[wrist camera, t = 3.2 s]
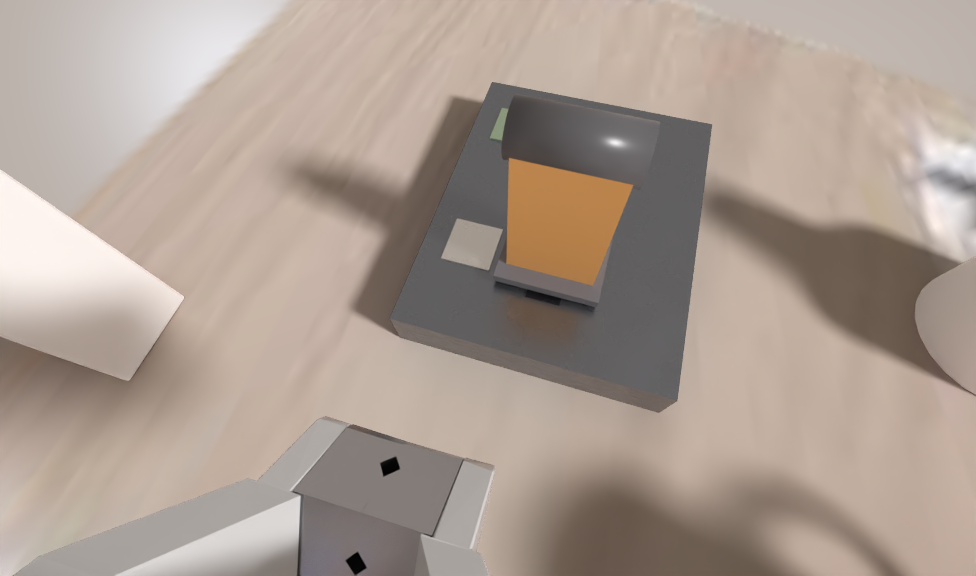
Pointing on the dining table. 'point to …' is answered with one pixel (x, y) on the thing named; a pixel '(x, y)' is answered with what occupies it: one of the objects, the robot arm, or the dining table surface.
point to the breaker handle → (567, 193)
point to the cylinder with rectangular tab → (951, 322)
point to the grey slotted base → (548, 319)
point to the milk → (74, 289)
